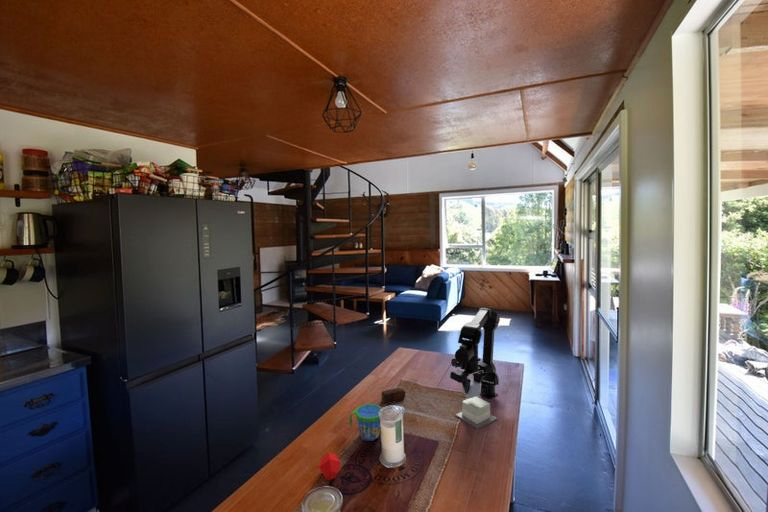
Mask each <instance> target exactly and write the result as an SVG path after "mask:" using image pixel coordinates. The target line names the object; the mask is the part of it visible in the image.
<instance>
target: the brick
mask: <svg viewBox="0 0 768 512" xmlns="http://www.w3.org/2000/svg"><path fill="white" fill-rule="evenodd" d="M405 397H406V391H405V389H404V388H401V387H395V388H391V389H386V390H383V391H381V402H383V403H384V404H386V403H387V404H389V402H392V403H394V402H393V401H395V402H398V401H397V400H399V401H402V400H404V399H405ZM401 399H402V400H401Z"/></svg>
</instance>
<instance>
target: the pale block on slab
mask: <svg viewBox="0 0 768 512" xmlns="http://www.w3.org/2000/svg"><path fill="white" fill-rule="evenodd" d="M461 403H462V404H461V410H462V411H460V412H458V413H456V414H455V415H456V416H455V415H454V416H455V417H457V418H458V417H459V419H460V420H462V421H463V422H465V423H466V424H468V425H470V426H471V427H473V428H474V429H476V430H480V429H481V428H483V427H486V426H487V425H489V424H491V423H493V422H495V421H498V418H497V417H496V416H495V415H493V414H491V403H490V402H488V401H486V400H484V399H482V398H480V397H479V396H475V397H473V398H470V397H468V398H467V399H464V400H462V401H461Z"/></svg>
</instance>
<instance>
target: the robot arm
mask: <svg viewBox="0 0 768 512" xmlns="http://www.w3.org/2000/svg"><path fill="white" fill-rule="evenodd" d="M500 318H501V317H500V314H498V312H495V311H494V310H492V309H490V308H486V307H479V309H478V312H477V313H476V315H475V316H474V317H473V319H472V320H471V321H468V322H466V323H465V324H463V326H462V327H461V328H460V332H459V337H458V341H457V343H458V344H461V345H459V348H458V349H457V350H456V351H455V353H454V358H451V361H450V363H451V366H452V367H454V368H455V370H452V371H450V373H449V377H450V379H451V380H454V381H455V382H457V383H459V384H461V385H463V388H464V390H465V393H467V394H468V392H469V387H470V383H471V380H470V379H471V378H469V376H471V375H472V377H473V380H474V381H476V382H479V383H480V395H481V396H483V397H484V398H487V399H489V400H490V399H493V398H495V397H497V396H498V393H497V392H496V386H498V385H499V384H500V383H499V382H500V378H499V375H498V373H497V367H496V366H495V364H494V362H493V361H494V345H495V343H494V342H495V331H496V330H497V328H498V327H499V323H500V321H501V319H500ZM482 329H483V334H482ZM482 335H483V346H482V361H481V358H480V357H479V344H480V343H481V339H482ZM457 368H460V370H459V369H457ZM462 370H463V371H462ZM480 395H479V396H480Z"/></svg>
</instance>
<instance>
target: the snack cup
mask: <svg viewBox="0 0 768 512" xmlns="http://www.w3.org/2000/svg"><path fill="white" fill-rule="evenodd" d="M381 408H382V407H381V406H380V405H378V404H374V403H366V404H362V405H360V406H358V407H357V408H356V409H354V410H353V411H351V414H350V416H349V426H350V427H352V426H353V425H354V424H353V423H354V422H353V418H352V417H353V415H355V417H356V421H357V426H358V427H357V428H358V433H359V437H360V438H361V439H362V440H363V441H367V442H369V441H372V442H373V441H374V440H376V439H378V438H379V437H380V434H381V433H380V432H381V427H380V419H379V414H378V412H379V410H380V409H381ZM374 442H375V441H374Z"/></svg>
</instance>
